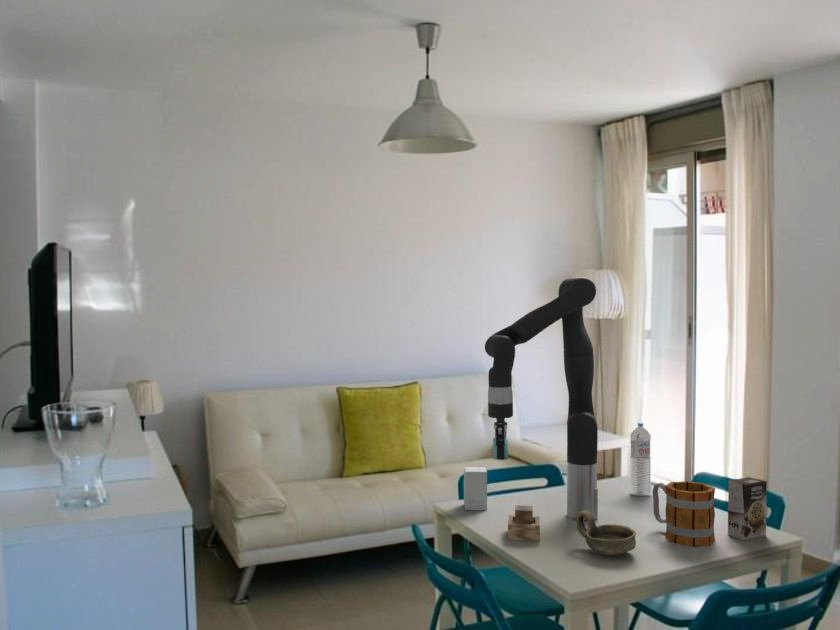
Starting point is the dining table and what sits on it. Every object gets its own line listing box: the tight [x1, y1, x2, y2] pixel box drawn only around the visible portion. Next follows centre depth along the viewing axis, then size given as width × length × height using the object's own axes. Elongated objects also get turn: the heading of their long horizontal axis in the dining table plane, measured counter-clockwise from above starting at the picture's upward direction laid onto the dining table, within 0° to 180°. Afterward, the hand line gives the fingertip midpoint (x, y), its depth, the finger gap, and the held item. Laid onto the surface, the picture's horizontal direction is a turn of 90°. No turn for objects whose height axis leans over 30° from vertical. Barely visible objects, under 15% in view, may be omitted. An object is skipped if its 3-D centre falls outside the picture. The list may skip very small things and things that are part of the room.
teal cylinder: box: [492, 437, 509, 461], centre depth 228 cm, size 4×4×6 cm
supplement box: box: [463, 466, 488, 511], centre depth 248 cm, size 7×7×13 cm
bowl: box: [575, 510, 637, 556], centre depth 205 cm, size 14×18×10 cm
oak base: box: [507, 514, 541, 542], centre depth 219 cm, size 9×9×4 cm
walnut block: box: [514, 505, 534, 524], centre depth 219 cm, size 5×5×5 cm
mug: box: [652, 480, 716, 548], centre depth 218 cm, size 20×14×15 cm
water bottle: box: [629, 422, 652, 497], centre depth 263 cm, size 7×7×25 cm
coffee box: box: [727, 476, 768, 541], centre depth 218 cm, size 9×6×16 cm
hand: (501, 457), depth 228 cm, fingers closed on teal cylinder, 4 cm apart
